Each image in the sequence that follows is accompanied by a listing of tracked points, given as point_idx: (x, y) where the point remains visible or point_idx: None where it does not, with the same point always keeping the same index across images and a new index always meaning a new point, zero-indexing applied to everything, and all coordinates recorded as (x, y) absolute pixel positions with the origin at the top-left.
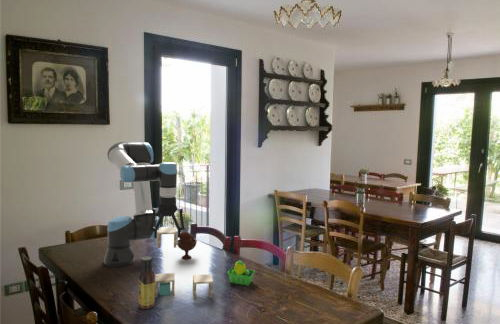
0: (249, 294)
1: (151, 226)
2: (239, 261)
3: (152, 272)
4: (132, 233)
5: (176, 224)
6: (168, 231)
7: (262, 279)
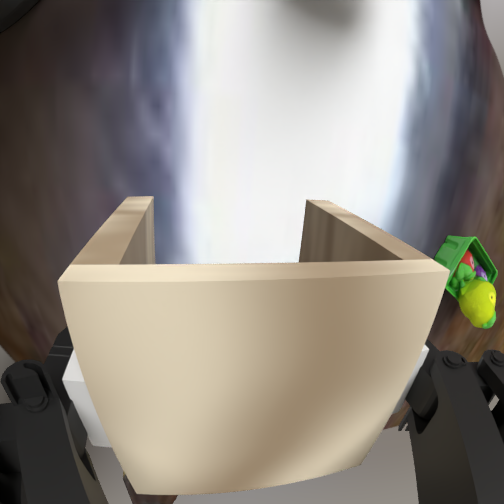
0: None
1: (3, 496)
2: (490, 324)
3: (173, 501)
4: None
5: (432, 487)
6: (275, 465)
7: (491, 252)
